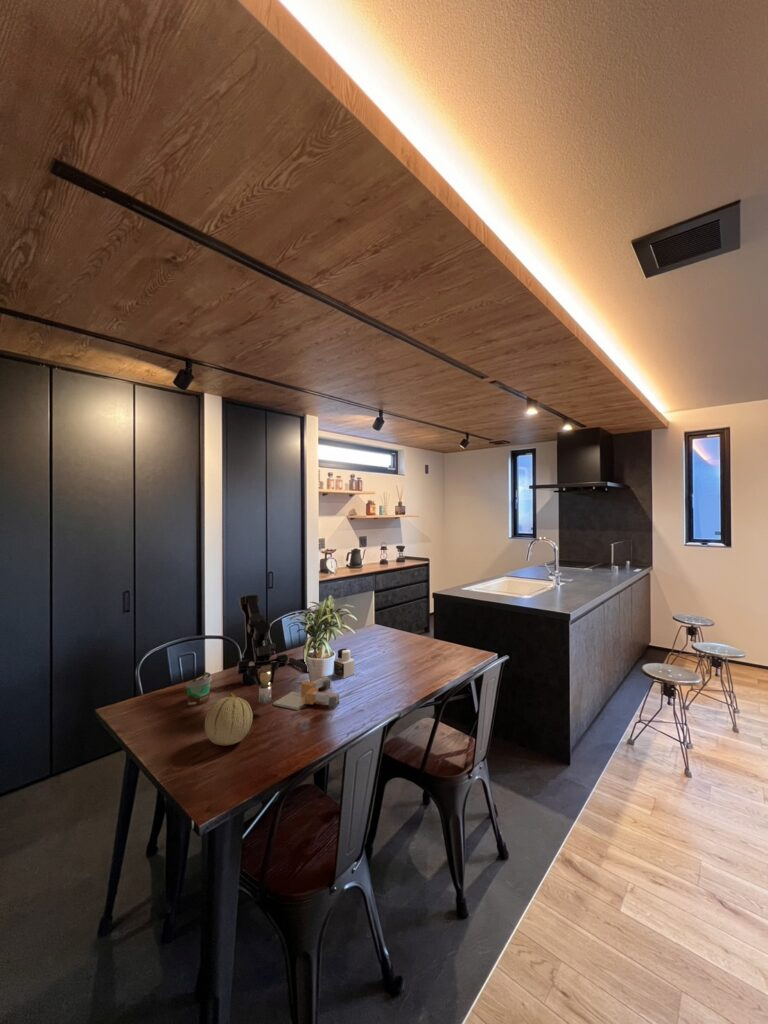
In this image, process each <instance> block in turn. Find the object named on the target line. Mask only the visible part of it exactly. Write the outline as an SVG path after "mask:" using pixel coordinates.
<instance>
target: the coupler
mask: <svg viewBox="0 0 768 1024" xmlns="http://www.w3.org/2000/svg"><path fill="white" fill-rule="evenodd" d="M258 677H259V681H260V686H258V702H259V704H268V703H271V701H272V683H271V670H270V669H262V670H258Z"/></svg>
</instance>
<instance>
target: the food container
mask: <svg viewBox="0 0 768 1024" xmlns="http://www.w3.org/2000/svg"><path fill="white" fill-rule="evenodd" d="M212 681H213V676H212V674H211V673H210V672H207V671H204V674H202V675H201V676H198V677H196V678H194V679H193V680H192V681H186V684H185V688H186V693H187V705H188V707H197V706H201V705H205V704H207V703H208V702H209V701H210V692H211V691H210V689H211V682H212Z"/></svg>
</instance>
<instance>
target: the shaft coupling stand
mask: <svg viewBox="0 0 768 1024" xmlns="http://www.w3.org/2000/svg"><path fill="white" fill-rule="evenodd" d="M319 689H320V690H325V691H327V690H329V689H331V680H329V676H322V677H319V678H318V679H316V680H313V681H308V680H305V681H302V682H301V683H300V692H296V691H291V692H289V693H287V694H285V695H284V696H282V697H280V698H279V699H277V700H276V701H274V702H273V703H272V704H273V706H274V707H275V706H276V707H280V708H284V709H289V710H293V711H294V710H295V711H299V710H301V709H302V708H304V707H306V706H307V705H314V704H315V703H316V702H319V703H321V702H322V703H328V709H331V710H335V709H336V708H337V707H338V705H340V694H339V693H332V692H323V691H321V692H320V691H319Z"/></svg>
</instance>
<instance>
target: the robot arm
mask: <svg viewBox="0 0 768 1024" xmlns="http://www.w3.org/2000/svg"><path fill="white" fill-rule="evenodd" d="M259 597H260V596H259V595H258V594H248V595H241V597H240V598H239V599H238V605H239V607H240V611H241V612H242V614H243V615H244V636H245V637H244V638H245V648H244V650H243V652H242V656H241V657H240V658H241V659H240V660H238V662H237V666H236V671H237V674H236V675H242V681H240V684H241V685H246V686H253V685H255V684H257V686H258V687H259V686H260V681H259V670H260V669H261V668H262V667H265V666H266V667H267V666H270V668H269V670H271V685H273V684H274V679H275V673H276V672H275V671H277V670H278V669H279V668H285V667H286V666H287V664H288V661H289V657H288V654H286V653H282V654H277V655H276V658H271V657H272V653H275V652H276V651H277V648H276V646H277V645H276V643H275V642H273V643H271V642H270V643H269V645H268V638H269V635H270V634H269V633H270V629H271V625H270V624H269V623H268V621H266V618H265V616H264V615H262V614H261V611H260V607H259V604H260V598H259ZM270 658H271V659H270Z"/></svg>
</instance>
